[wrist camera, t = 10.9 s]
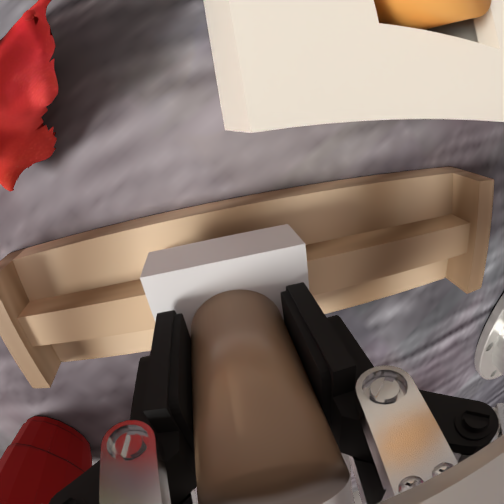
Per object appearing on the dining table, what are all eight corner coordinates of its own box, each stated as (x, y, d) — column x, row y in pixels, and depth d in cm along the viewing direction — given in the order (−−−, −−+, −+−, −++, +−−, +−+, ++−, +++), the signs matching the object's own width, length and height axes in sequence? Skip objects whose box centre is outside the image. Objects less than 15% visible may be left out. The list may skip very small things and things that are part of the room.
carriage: (278, 213, 13) (419, 385, 4) (291, 317, 15) (376, 499, 6) (153, 238, 12) (93, 453, 4) (184, 340, 14) (190, 540, 6)
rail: (449, 166, 15) (493, 179, 12) (444, 262, 17) (480, 288, 14) (9, 253, 13) (-25, 283, 10) (52, 347, 15) (33, 388, 12)
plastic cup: (114, 483, 22) (109, 592, 11) (7, 442, 18) (-22, 545, 7) (137, 427, 19) (131, 587, 8) (-4, 370, 15) (-65, 508, 4)
